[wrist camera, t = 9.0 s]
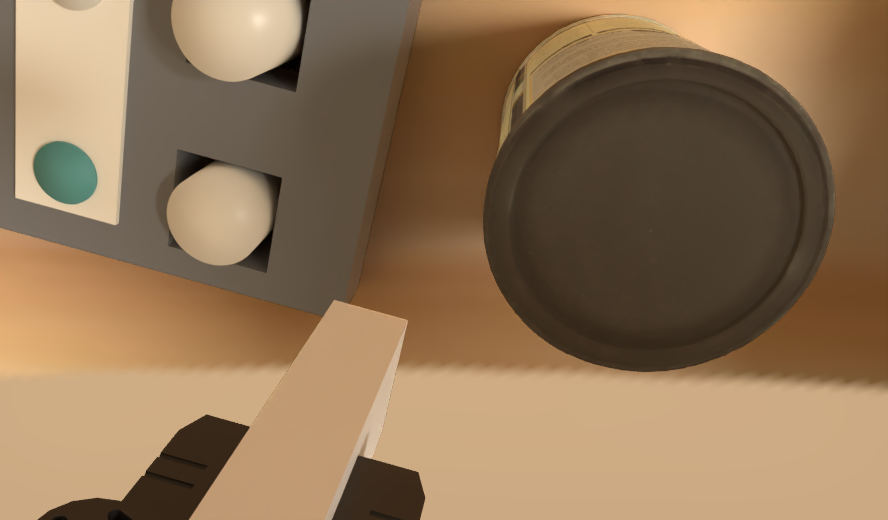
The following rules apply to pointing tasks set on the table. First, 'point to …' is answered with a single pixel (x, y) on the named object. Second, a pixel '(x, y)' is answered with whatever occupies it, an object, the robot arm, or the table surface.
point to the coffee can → (652, 197)
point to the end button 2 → (223, 212)
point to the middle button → (239, 34)
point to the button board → (199, 137)
